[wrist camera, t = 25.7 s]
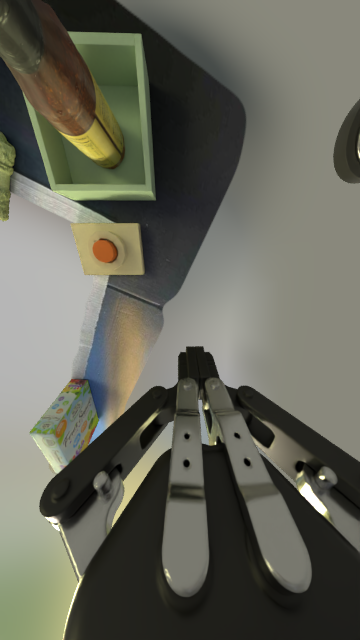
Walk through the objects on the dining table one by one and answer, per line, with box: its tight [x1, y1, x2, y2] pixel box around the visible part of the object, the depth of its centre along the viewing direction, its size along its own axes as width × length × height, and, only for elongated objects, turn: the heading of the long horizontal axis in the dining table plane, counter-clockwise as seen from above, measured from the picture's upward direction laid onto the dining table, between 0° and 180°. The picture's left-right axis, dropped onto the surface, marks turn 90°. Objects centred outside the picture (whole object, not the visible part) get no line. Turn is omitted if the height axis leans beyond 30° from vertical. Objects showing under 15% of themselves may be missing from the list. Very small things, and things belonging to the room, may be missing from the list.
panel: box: [71, 223, 145, 275], centre depth 30 cm, size 12×9×4 cm
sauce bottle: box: [0, 0, 125, 169], centre depth 15 cm, size 7×6×20 cm
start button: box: [93, 240, 117, 262], centre depth 28 cm, size 4×4×2 cm
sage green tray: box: [23, 32, 156, 200], centre depth 22 cm, size 15×14×6 cm
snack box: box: [30, 379, 99, 474], centre depth 45 cm, size 21×6×15 cm, turn 176°
